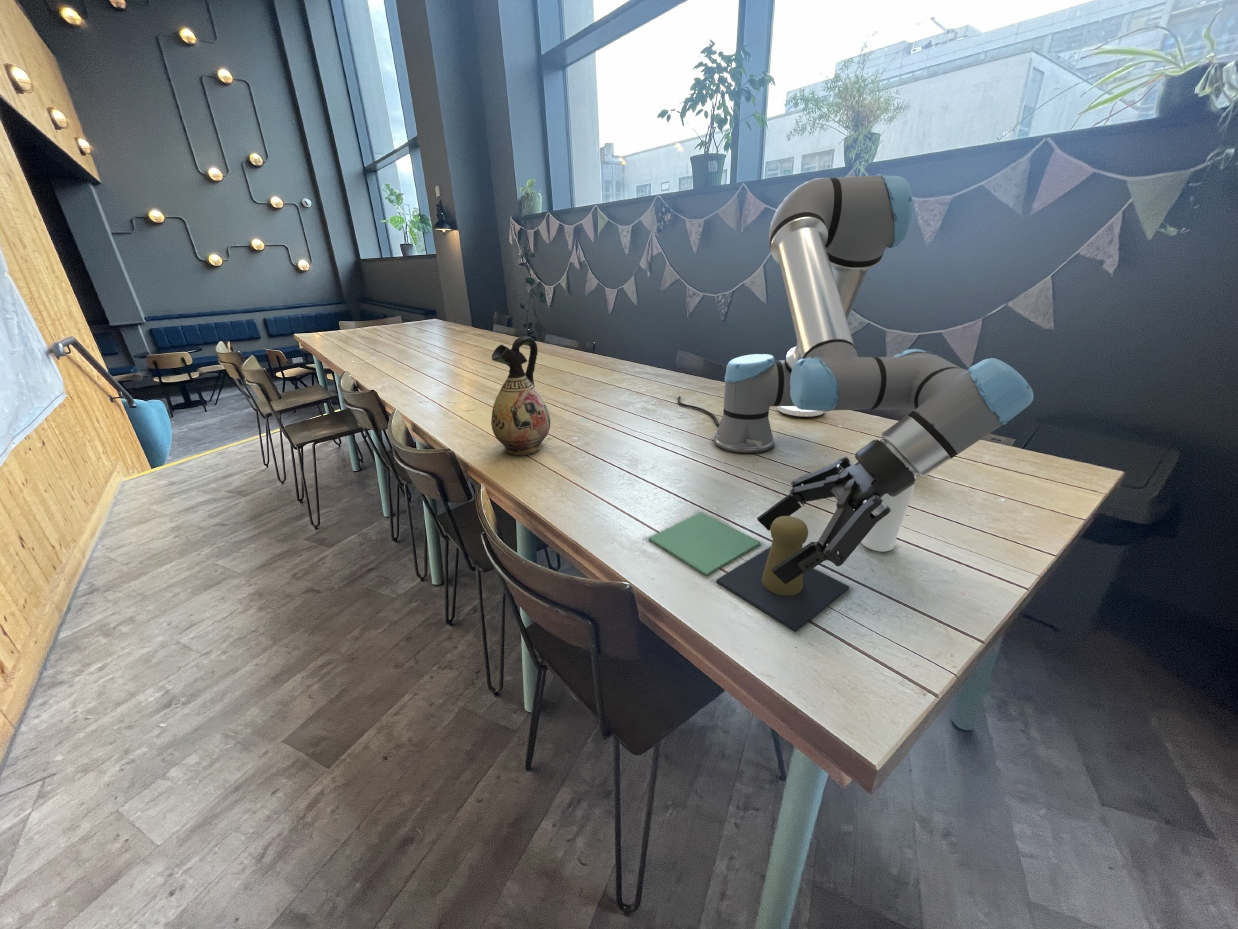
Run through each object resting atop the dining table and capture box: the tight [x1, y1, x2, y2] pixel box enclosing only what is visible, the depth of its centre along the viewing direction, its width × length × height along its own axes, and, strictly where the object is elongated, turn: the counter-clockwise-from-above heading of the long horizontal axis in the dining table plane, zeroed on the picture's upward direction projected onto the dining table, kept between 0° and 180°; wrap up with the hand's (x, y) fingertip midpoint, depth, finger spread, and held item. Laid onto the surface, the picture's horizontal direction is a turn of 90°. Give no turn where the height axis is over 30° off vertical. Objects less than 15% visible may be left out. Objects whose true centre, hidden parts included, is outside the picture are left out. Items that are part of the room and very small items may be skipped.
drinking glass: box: [860, 475, 918, 553], centre depth 79 cm, size 7×7×15 cm
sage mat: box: [648, 512, 762, 577], centre depth 84 cm, size 14×14×1 cm
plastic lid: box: [777, 406, 825, 417], centre depth 150 cm, size 14×14×2 cm
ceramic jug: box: [490, 335, 551, 456], centre depth 123 cm, size 17×15×30 cm
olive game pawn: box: [762, 515, 809, 596], centre depth 70 cm, size 6×6×11 cm
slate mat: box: [715, 546, 850, 632], centre depth 72 cm, size 14×14×1 cm
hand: (769, 548), depth 70 cm, fingers open, 13 cm apart
